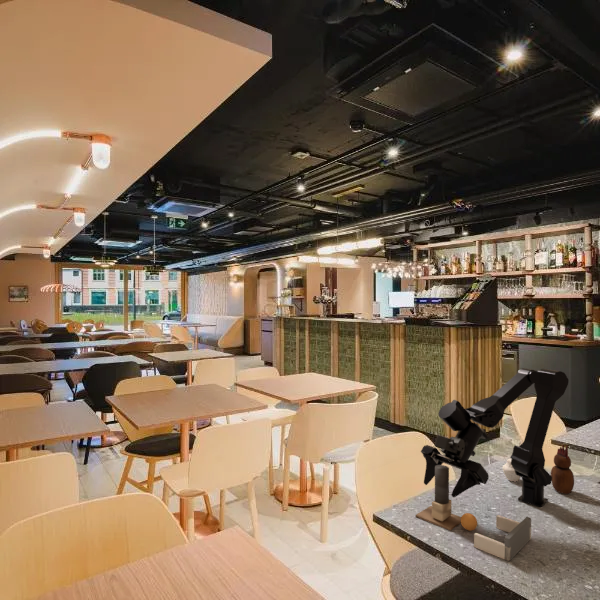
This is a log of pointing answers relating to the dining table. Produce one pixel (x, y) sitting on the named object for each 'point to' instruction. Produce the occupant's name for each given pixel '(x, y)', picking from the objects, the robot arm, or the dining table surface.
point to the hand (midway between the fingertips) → (438, 490)
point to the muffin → (510, 471)
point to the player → (441, 494)
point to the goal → (506, 538)
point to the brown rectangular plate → (447, 523)
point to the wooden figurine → (562, 472)
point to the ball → (469, 521)
